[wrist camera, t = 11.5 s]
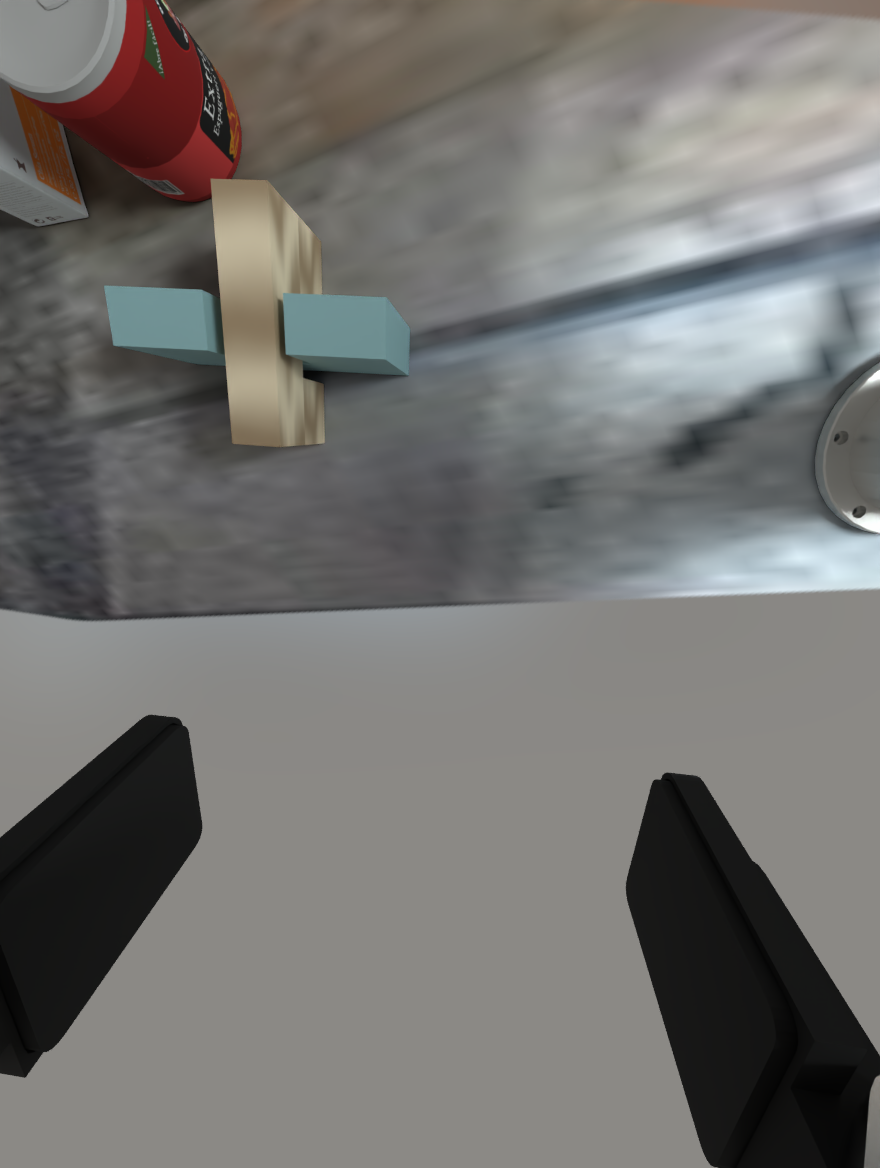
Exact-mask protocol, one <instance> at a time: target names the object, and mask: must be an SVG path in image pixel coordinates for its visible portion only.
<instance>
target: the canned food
mask: <svg viewBox="0 0 880 1168" xmlns="http://www.w3.org/2000/svg"><path fill="white" fill-rule="evenodd" d="M0 78H1V79H3V80H4V81H5V82H6V83H7V84H8V85H10V86H11V87H12V88H13V89H15V90H16V91H17V92H19V93H20V94H22V95H23V96H24V97H26V98H27V99H28V100H30V101H31V102H32V103H33V104H35V105H36V106H37V107H39V108H40V109H42V110H43V111H44V112H46V113H47V114H49V115H50V116H51V117H53V118H54V119H56V120H57V121H58V122H60V123H61V124H63V125H64V126H65V127H67V128H68V129H70V130H71V131H72V132H74V133H75V134H77V135H78V136H79V137H81V138H82V139H84V140H85V141H86V142H88V143H89V144H91V145H92V146H93V147H95V148H96V149H98V150H99V151H100V152H102V153H103V154H105V155H106V156H107V157H109V158H110V159H112V160H113V161H114V162H116V163H117V164H119V165H120V166H121V167H123V168H124V169H126V170H127V171H128V172H130V173H131V174H133V175H134V176H135V177H137V178H138V179H140V180H141V181H142V182H144V183H145V184H147V185H148V186H149V187H151V188H152V189H154V190H155V191H157V192H159V193H161V194H162V195H164V196H167V197H170V198H173V199H176V200H180V201H188V202H198V201H204V200H207V199H209V198H211V197H212V190H211V179H231V178H232V177H233V175H234V173H235V171H236V168H237V165H238V162H239V159H240V153H241V146H242V145H241V127H240V121H239V117H238V113H237V110H236V107H235V104H234V101H233V98H232V95H231V93H230V91H229V89H228V87H227V85H226V83H225V81H224V80H223V78H222V77H221V76H220V74H219V73H218V71H217V70H216V69H215V67H214V66H213V65H212V63H211V62H210V61H209V59H208V58H207V57H206V55H205V54H204V53H203V51H202V50H201V49H200V47H199V46H198V44H197V43H196V42H195V40H194V39H193V38H192V36H191V35H190V34H189V32H188V31H187V30H186V28H185V27H184V26H183V24H182V23H181V22H180V20H179V19H178V18H177V16H176V15H175V13H174V12H173V11H172V9H171V8H170V7H169V5H168V4H167V3H166V1H165V0H0Z"/></svg>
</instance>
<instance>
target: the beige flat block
mask: <svg viewBox="0 0 880 1168" xmlns="http://www.w3.org/2000/svg"><path fill="white" fill-rule="evenodd" d="M211 190H212V203H213V215H214V227H215V239H216V251H217V263H218V276H219V288H220V300H221V312H222V324H223V336H224V349H225V361H226V373H227V385H228V397H229V409H230V421H231V434H232V444H243V445H257V446H271V447H288V446H300V445H312V444H323V443H325V426H324V384H322V383H319V382H315V381H312V380H308V379H305V378H303V361H302V360H299V359H297V358H294V357H291V356H289V355H286V348H285V327H284V306H283V293H294V294H318V295H322V263H321V241H320V240H319V239H318V238H317V237H316V235H315V234H314V233H313V232H312V231H311V230H310V229H309V227H308V226H307V225H306V224H305V223H304V222H303V221H302V220H301V218H300V217H299V216H298V215H297V214H296V213H295V212H294V210H293V209H292V208H291V207H290V206H289V205H288V204H287V202H286V201H285V200H284V199H283V198H282V197H281V196H280V194H279V193H278V192H277V191H276V190H275V189H274V188H273V186H272V185H271V184H270V183H269V182H268V181H267V180H238V179H211Z"/></svg>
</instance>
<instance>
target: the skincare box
mask: <svg viewBox="0 0 880 1168" xmlns="http://www.w3.org/2000/svg"><path fill="white" fill-rule="evenodd" d="M0 210H2V211H5V212H7V213H9V214H11V215H13V216H15V217H17V218H20V219H22V220H24V221H26V222H28V223H30V224H32V225H35V226H45V225H50V224H55V223H60V222H66V221H71V220H77V219H83V218H87V217H88V212H87V209H86V206H85V203H84V200H83V197H82V193H81V189H80V186H79V182H78V179H77V175H76V172H75V169H74V165H73V162H72V158H71V154H70V150H69V146H68V143H67V139H66V135H65V131H64V128H63V124H61V123H60V122H58V121H57V120H56V119H54V118H53V117H51V116H50V115H49V114H47V113H46V112H44V111H43V110H42V109H40V108H39V107H37V106H36V105H35V104H33V103H32V102H31V101H30V100H28V99H27V98H26V97H24V96H23V95H22V94H20V93H19V92H17V91H16V90H15V89H13V88H12V87H11V86H10V85H8V84H7V83H6V82H5V81H4V80H3V79H1V78H0Z"/></svg>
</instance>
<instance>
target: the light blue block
mask: <svg viewBox="0 0 880 1168" xmlns="http://www.w3.org/2000/svg"><path fill="white" fill-rule="evenodd" d="M104 288H105V295H106V301H107V307H108V313H109V320H110V326H111V332H112V339H113V345H114V346H118V347H122V348H127V349H131V350H135V351H140V352H144V353H149V354H153V355H158V356H162V357H166V358H171V359H175V360H180V361H184V362H189V363H193V364H200V365H219V366H226V361H225V349H224V336H223V324H222V312H221V300H220V298H218V297H216V296H214V295H212V294H209V293H207V292H205V291H203V290H197V289H173V288H149V287H124V286H104ZM283 306H284V327H285V348H286V355H289V356H291V357H294V358H297V359H299V360H302V361H303V370H313V371H331V372H350V373H369V374H387V375H406V376H409V347H410V328H409V327H408V325H407V324H406V323H405V321H404V320H403V319H402V317H401V316H400V315H399V313H398V312H397V311H396V309H395V308H394V307H393V305H392V304H391V303H390V301H389V300H388V299H387V297H367V296H343V295H318V294H294V293H283Z"/></svg>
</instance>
